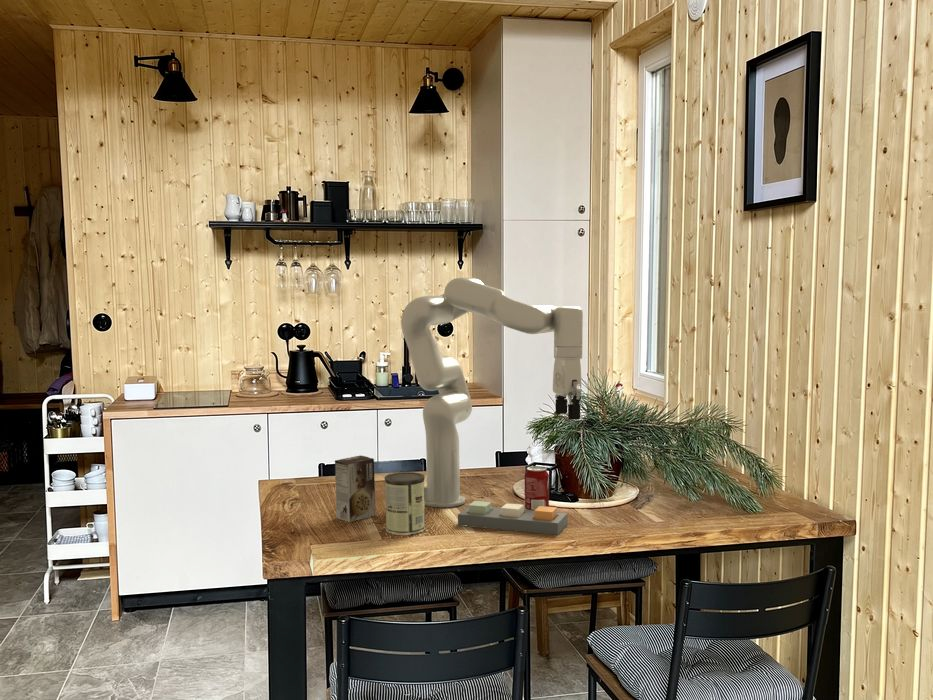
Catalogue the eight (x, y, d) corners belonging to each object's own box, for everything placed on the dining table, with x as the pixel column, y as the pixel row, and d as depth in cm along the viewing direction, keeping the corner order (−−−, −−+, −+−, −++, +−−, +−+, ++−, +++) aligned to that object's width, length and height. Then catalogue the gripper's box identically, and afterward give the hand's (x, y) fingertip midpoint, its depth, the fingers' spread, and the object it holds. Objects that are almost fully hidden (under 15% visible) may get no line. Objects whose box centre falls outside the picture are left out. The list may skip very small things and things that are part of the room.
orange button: (534, 520, 227) (534, 510, 227) (539, 515, 232) (539, 506, 232) (552, 521, 226) (552, 512, 225) (557, 517, 230) (557, 507, 230)
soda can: (547, 514, 242) (547, 471, 241) (523, 513, 244) (522, 470, 243) (550, 508, 249) (550, 466, 248) (526, 507, 250) (526, 465, 249)
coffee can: (392, 523, 235) (391, 471, 234) (429, 525, 232) (429, 472, 231) (380, 534, 225) (379, 479, 224) (419, 536, 222) (418, 481, 221)
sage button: (468, 514, 234) (468, 505, 233) (474, 509, 238) (474, 500, 238) (485, 515, 232) (485, 506, 232) (491, 511, 236) (491, 502, 236)
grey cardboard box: (361, 511, 247) (360, 454, 246) (376, 516, 242) (375, 458, 241) (335, 518, 241) (333, 459, 239) (349, 522, 236) (348, 463, 235)
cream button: (501, 517, 230) (501, 507, 230) (506, 512, 235) (506, 503, 235) (518, 518, 229) (518, 509, 229) (524, 514, 233) (524, 504, 233)
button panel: (457, 525, 232) (457, 514, 232) (471, 515, 241) (470, 505, 241) (557, 534, 223) (557, 523, 222) (567, 524, 232) (567, 513, 232)
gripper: (544, 350, 242) (543, 412, 244) (566, 356, 226) (565, 422, 227) (570, 349, 244) (569, 411, 245) (593, 355, 227) (592, 421, 229)
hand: (567, 416), depth 236 cm, fingers open, 9 cm apart
